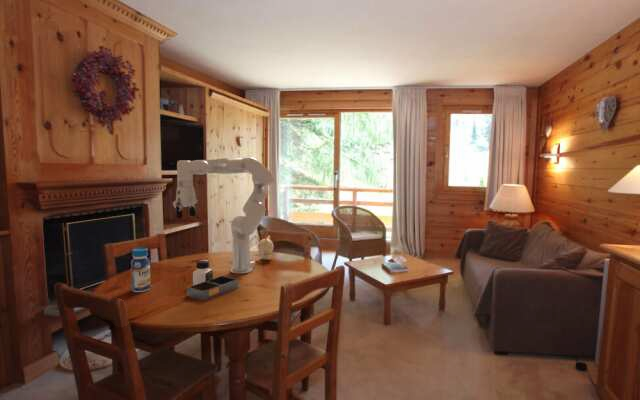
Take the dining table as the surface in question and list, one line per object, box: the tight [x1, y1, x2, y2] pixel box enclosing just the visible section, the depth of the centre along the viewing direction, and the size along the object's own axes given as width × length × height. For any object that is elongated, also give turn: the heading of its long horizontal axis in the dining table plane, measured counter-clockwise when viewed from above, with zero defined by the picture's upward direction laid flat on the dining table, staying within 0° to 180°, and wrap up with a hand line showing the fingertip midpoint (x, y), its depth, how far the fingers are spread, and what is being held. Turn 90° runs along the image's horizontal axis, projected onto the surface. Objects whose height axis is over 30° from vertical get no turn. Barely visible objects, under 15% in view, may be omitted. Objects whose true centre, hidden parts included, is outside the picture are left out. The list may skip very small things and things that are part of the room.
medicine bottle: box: [192, 259, 214, 286], centre depth 186 cm, size 7×7×12 cm
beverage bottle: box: [130, 247, 152, 293], centre depth 176 cm, size 8×8×20 cm
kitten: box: [257, 235, 275, 261], centre depth 236 cm, size 15×10×15 cm
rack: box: [186, 275, 239, 302], centre depth 175 cm, size 22×12×4 cm, turn 149°
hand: (186, 217), depth 190 cm, fingers open, 9 cm apart
